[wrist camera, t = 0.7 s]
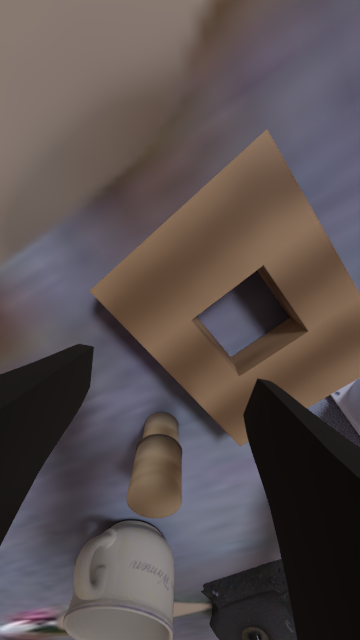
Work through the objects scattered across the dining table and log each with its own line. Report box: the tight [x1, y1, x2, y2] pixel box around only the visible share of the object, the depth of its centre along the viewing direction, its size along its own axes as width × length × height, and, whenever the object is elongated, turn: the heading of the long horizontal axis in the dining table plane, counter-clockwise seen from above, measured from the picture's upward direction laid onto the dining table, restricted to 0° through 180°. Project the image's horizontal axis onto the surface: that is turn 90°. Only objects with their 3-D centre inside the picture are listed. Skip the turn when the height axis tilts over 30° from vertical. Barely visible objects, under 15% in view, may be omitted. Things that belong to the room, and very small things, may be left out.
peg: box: [127, 412, 182, 518], centre depth 20 cm, size 4×4×7 cm
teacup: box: [63, 520, 174, 640], centre depth 25 cm, size 14×11×8 cm
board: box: [90, 130, 360, 446], centre depth 17 cm, size 18×14×3 cm
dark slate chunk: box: [201, 559, 297, 640], centre depth 32 cm, size 15×22×5 cm
